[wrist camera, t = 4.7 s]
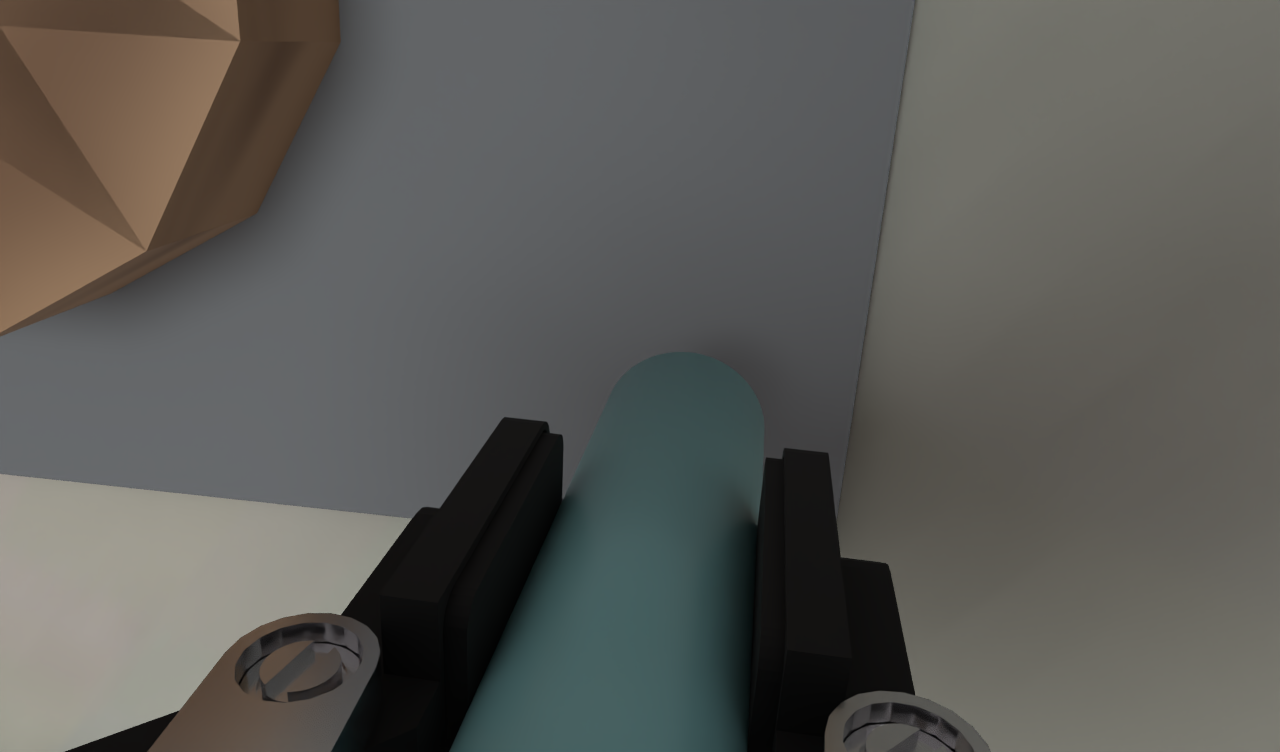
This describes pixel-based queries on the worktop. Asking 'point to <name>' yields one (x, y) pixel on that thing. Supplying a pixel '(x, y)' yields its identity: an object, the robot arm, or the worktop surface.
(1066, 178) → the worktop surface
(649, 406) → the teal marker pen
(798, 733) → the robot arm
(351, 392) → the felt mat
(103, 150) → the faceted wooden ring
